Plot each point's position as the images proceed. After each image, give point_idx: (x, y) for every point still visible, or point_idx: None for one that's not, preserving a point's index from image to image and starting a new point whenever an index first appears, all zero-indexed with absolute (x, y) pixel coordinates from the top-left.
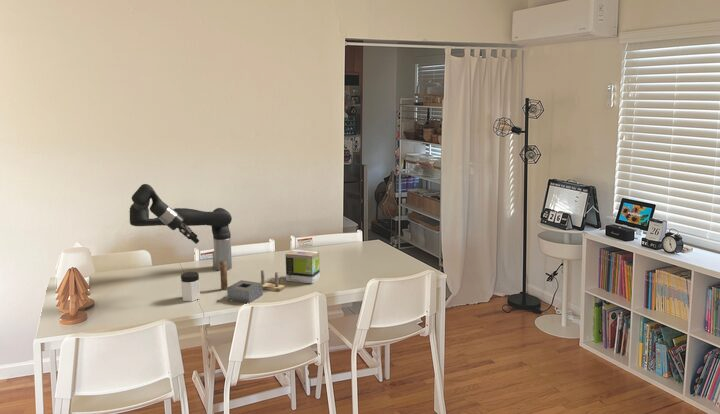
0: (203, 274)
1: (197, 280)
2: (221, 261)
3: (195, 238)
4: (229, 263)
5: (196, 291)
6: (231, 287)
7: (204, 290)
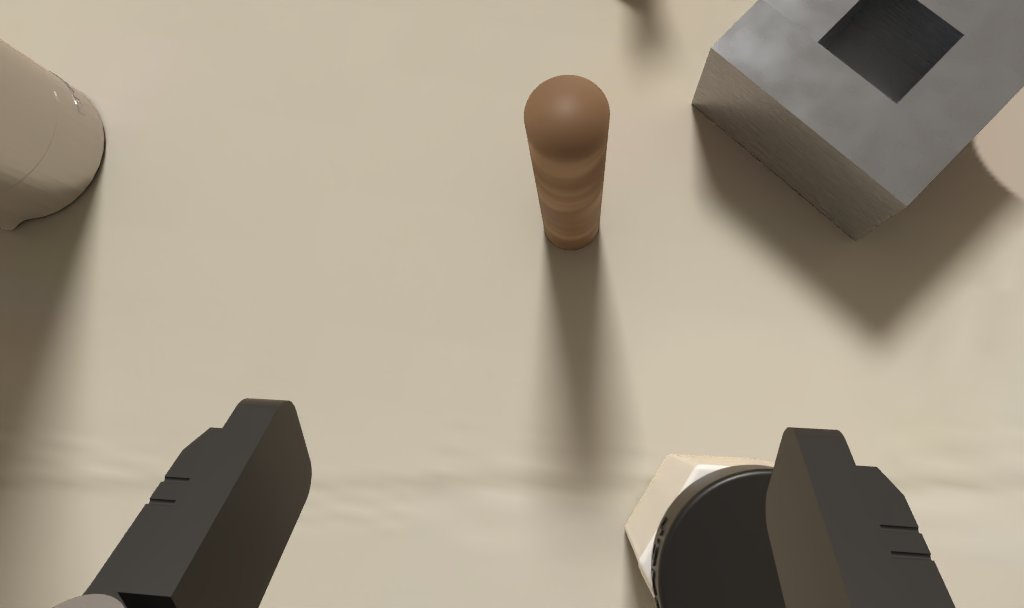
0: (115, 331)
1: None
2: (533, 131)
3: (899, 564)
4: (55, 81)
5: None
6: (909, 164)
7: (538, 387)
